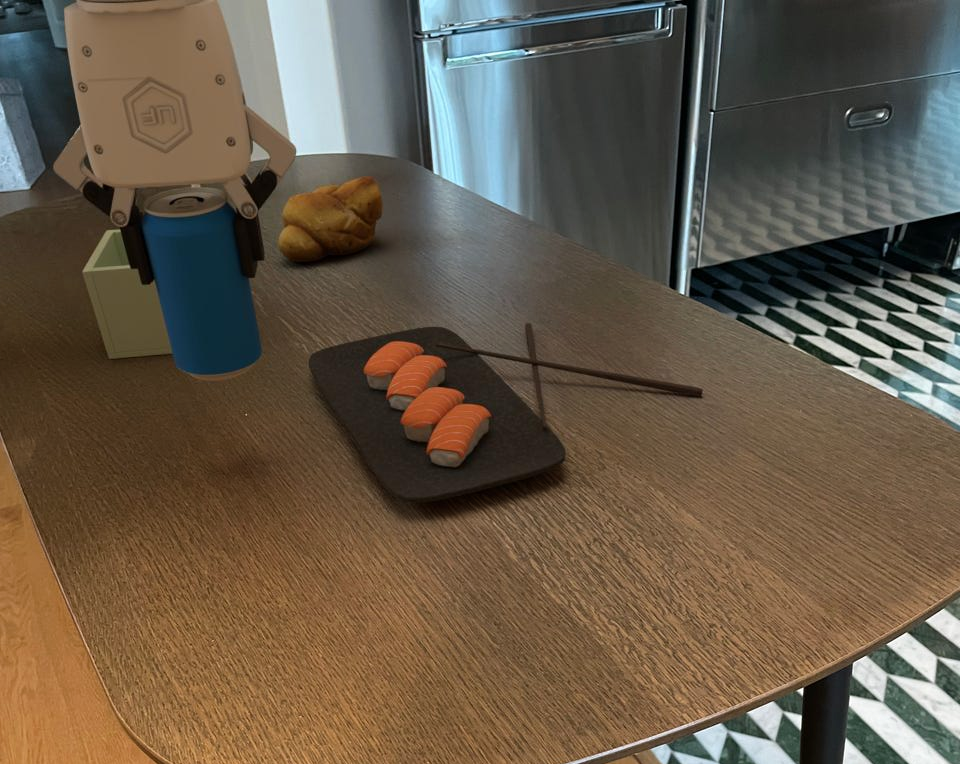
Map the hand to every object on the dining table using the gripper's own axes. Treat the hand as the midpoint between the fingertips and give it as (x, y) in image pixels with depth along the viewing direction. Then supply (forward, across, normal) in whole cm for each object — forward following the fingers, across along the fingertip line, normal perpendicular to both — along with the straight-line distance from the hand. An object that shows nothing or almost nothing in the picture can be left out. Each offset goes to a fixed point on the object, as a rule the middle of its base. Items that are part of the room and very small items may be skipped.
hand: (200, 272), depth 71 cm
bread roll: (+16, +6, +49) cm, 52 cm away
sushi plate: (+15, +23, +7) cm, 28 cm away
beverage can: (+7, 0, 0) cm, 7 cm away
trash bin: (+16, -9, +29) cm, 34 cm away
